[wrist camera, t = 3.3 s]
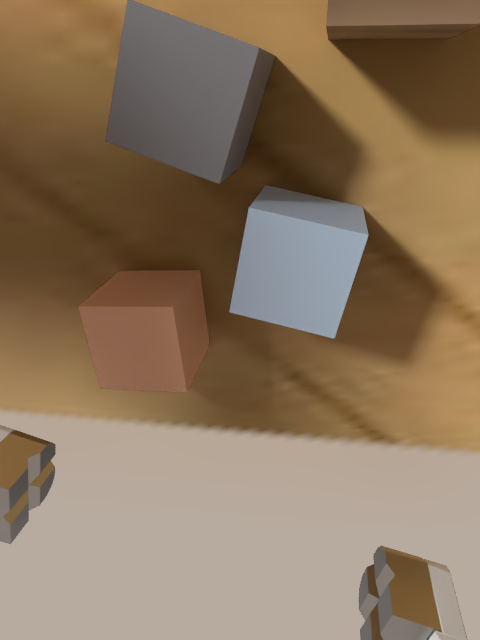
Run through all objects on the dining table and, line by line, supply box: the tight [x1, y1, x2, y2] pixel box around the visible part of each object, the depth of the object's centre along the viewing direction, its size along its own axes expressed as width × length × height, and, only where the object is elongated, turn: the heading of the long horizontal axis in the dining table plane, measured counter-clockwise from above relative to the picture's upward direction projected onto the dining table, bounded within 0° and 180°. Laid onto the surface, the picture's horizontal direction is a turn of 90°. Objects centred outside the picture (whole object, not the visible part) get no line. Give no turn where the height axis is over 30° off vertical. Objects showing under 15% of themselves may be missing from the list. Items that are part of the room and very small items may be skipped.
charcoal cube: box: [106, 0, 276, 184], centre depth 19 cm, size 5×5×5 cm
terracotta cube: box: [78, 270, 210, 393], centre depth 25 cm, size 5×5×5 cm
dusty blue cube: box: [229, 185, 369, 339], centre depth 22 cm, size 5×5×5 cm
